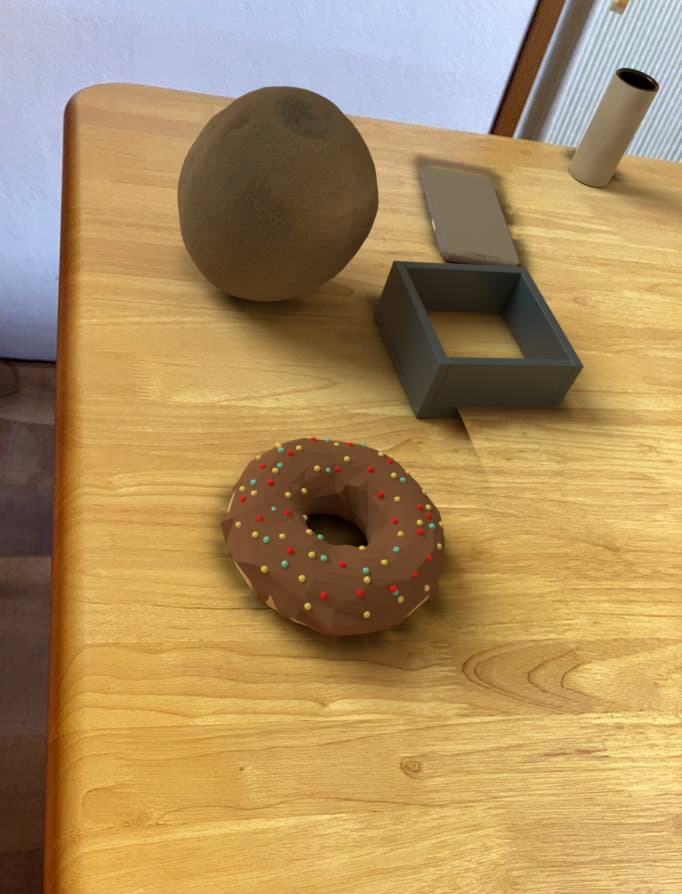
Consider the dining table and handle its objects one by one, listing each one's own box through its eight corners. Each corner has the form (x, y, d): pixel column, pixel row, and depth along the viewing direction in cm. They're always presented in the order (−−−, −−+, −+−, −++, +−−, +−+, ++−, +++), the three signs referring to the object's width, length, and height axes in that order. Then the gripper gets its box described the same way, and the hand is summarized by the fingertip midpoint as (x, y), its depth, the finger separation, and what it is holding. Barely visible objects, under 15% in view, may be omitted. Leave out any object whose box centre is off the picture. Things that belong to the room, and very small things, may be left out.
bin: (499, 319, 75) (526, 266, 71) (551, 417, 68) (584, 366, 64) (373, 315, 72) (393, 260, 68) (415, 418, 65) (440, 364, 61)
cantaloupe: (194, 349, 65) (227, 158, 53) (150, 232, 72) (171, 43, 61) (366, 340, 69) (431, 163, 58) (308, 232, 77) (356, 56, 65)
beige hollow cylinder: (567, 178, 93) (616, 80, 85) (568, 158, 96) (616, 62, 88) (608, 192, 93) (661, 95, 85) (607, 172, 96) (659, 76, 88)
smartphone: (491, 176, 88) (523, 266, 79) (488, 185, 89) (518, 275, 79) (419, 163, 86) (442, 253, 77) (416, 172, 87) (439, 262, 78)
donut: (241, 451, 59) (255, 397, 56) (435, 505, 60) (462, 455, 56) (192, 625, 50) (204, 575, 47) (421, 685, 51) (452, 641, 47)
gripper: (635, -166, 87) (571, -29, 88) (835, -90, 85) (766, 48, 86) (618, -122, 93) (559, 6, 94) (804, -50, 91) (741, 78, 92)
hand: (660, 27), depth 90 cm, fingers open, 8 cm apart
